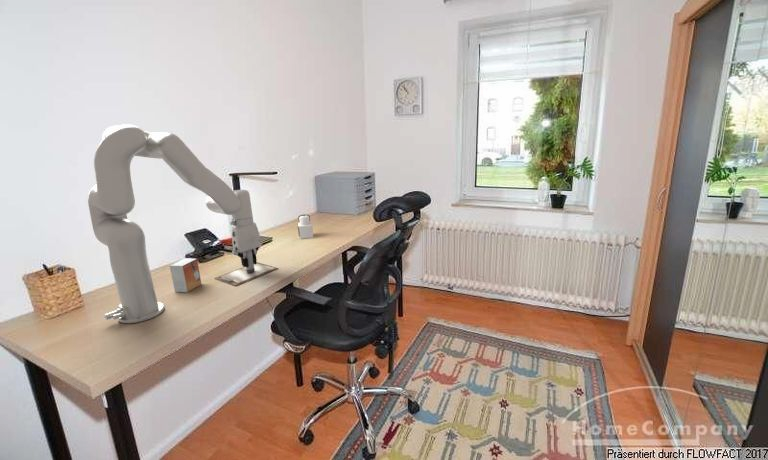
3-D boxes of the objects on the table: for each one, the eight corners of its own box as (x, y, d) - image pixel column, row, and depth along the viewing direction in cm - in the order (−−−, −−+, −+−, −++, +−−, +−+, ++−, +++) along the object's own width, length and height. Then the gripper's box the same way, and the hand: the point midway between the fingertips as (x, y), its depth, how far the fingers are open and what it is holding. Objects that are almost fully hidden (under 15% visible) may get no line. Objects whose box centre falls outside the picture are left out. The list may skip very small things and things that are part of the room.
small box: (187, 292, 134) (182, 266, 131) (174, 292, 135) (168, 265, 132) (202, 283, 141) (197, 258, 138) (189, 283, 142) (184, 257, 139)
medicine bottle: (298, 235, 199) (296, 214, 196) (311, 234, 201) (309, 213, 198) (299, 239, 193) (297, 217, 190) (313, 237, 195) (311, 216, 192)
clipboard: (235, 286, 137) (235, 283, 137) (214, 278, 145) (214, 276, 145) (277, 268, 153) (277, 266, 153) (257, 262, 161) (256, 260, 161)
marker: (249, 273, 147) (245, 243, 143) (244, 272, 149) (240, 242, 145) (256, 271, 150) (252, 240, 146) (251, 269, 151) (247, 239, 148)
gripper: (230, 227, 135) (237, 273, 140) (266, 218, 148) (272, 260, 153) (218, 225, 139) (226, 270, 144) (254, 216, 152) (260, 257, 157)
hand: (249, 264), depth 148 cm, fingers closed on marker, 3 cm apart
